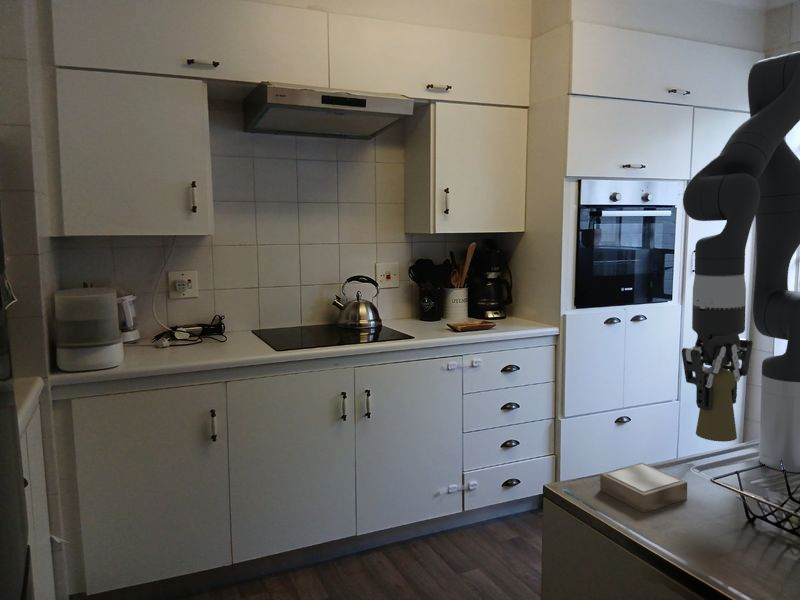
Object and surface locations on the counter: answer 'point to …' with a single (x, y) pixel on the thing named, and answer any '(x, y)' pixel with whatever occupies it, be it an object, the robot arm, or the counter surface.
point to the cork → (719, 410)
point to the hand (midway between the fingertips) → (716, 405)
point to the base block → (643, 487)
